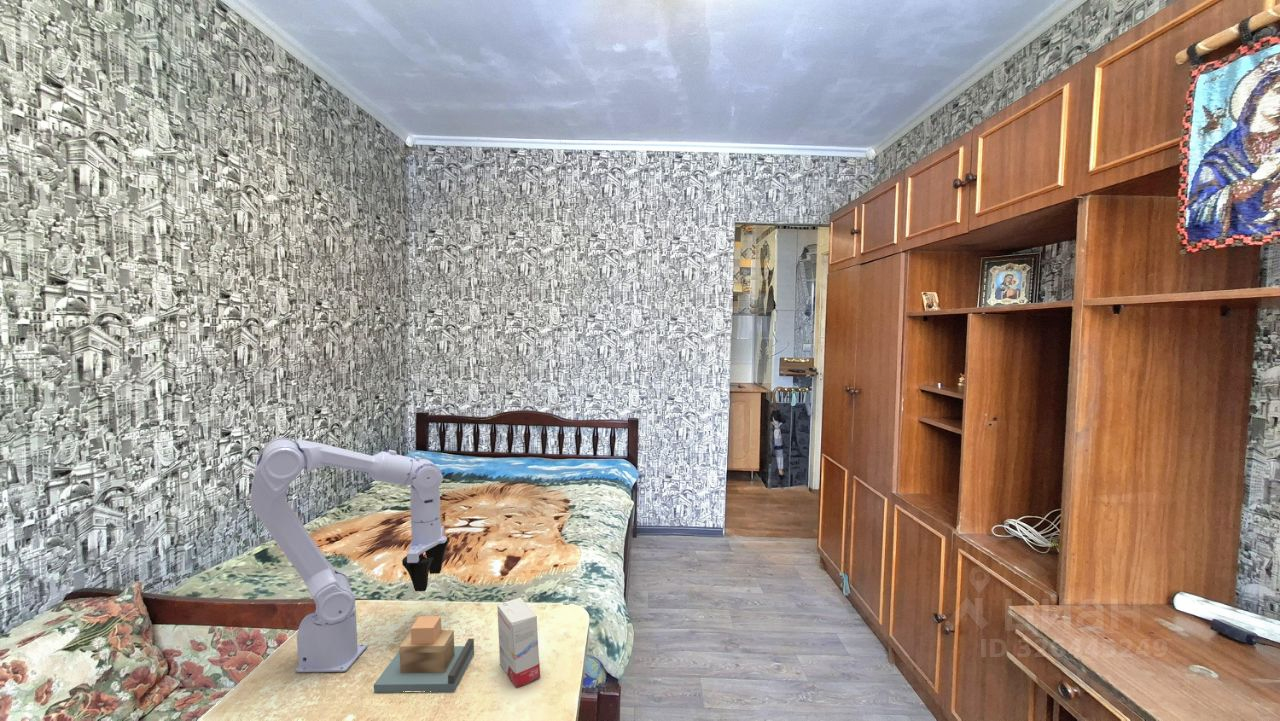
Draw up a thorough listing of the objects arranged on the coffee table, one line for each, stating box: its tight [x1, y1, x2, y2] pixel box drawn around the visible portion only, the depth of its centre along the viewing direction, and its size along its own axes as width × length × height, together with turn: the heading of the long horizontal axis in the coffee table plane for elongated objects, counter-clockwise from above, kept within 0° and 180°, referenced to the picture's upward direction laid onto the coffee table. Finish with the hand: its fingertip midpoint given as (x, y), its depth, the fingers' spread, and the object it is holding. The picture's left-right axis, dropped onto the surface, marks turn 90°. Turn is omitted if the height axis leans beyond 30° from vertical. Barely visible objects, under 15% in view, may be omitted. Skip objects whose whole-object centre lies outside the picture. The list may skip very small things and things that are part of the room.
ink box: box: [496, 597, 541, 688], centre depth 98 cm, size 9×5×12 cm, turn 33°
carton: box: [410, 615, 442, 645], centre depth 98 cm, size 4×4×3 cm
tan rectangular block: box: [398, 629, 455, 673], centre depth 98 cm, size 8×5×5 cm, turn 90°
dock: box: [373, 638, 475, 694], centre depth 98 cm, size 14×11×3 cm
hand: (428, 581), depth 111 cm, fingers open, 7 cm apart
